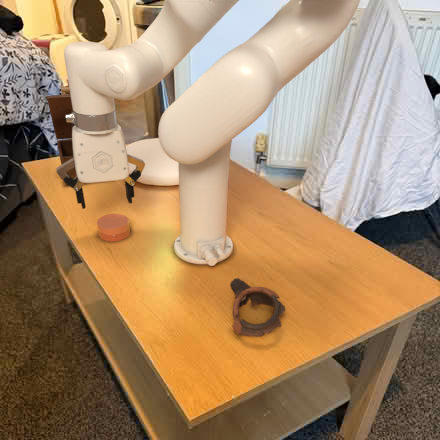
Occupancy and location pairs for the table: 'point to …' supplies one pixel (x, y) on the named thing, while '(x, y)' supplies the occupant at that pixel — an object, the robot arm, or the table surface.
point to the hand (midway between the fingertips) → (106, 203)
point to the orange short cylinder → (113, 227)
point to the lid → (61, 113)
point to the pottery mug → (257, 297)
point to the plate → (154, 163)
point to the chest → (67, 155)
